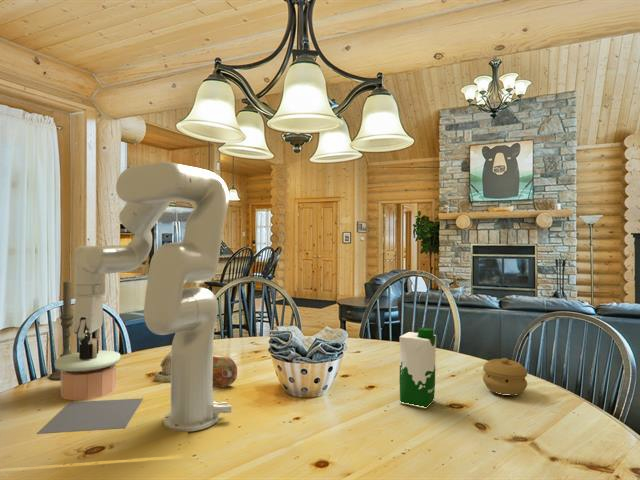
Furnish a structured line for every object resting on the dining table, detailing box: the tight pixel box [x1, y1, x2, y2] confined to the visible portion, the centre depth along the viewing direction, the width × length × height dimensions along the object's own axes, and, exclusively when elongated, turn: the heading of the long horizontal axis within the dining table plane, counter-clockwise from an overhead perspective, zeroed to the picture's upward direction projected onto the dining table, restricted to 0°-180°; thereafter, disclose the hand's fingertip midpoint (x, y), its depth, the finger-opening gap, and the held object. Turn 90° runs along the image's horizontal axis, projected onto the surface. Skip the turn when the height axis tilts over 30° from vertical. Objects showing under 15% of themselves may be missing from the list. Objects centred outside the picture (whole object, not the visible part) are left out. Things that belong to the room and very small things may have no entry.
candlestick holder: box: [48, 279, 74, 381], centre depth 133 cm, size 9×9×30 cm
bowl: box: [60, 364, 117, 401], centre depth 118 cm, size 13×13×7 cm
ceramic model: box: [154, 351, 171, 383], centre depth 133 cm, size 14×11×10 cm
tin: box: [213, 354, 238, 388], centre depth 127 cm, size 15×3×8 cm, turn 62°
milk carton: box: [399, 326, 437, 407], centre depth 115 cm, size 9×9×20 cm
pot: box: [482, 357, 528, 395], centre depth 123 cm, size 12×12×10 cm
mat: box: [36, 397, 144, 435], centre depth 103 cm, size 18×18×1 cm
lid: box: [54, 338, 121, 371], centre depth 118 cm, size 16×16×6 cm
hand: (89, 355), depth 118 cm, fingers closed on lid, 4 cm apart
